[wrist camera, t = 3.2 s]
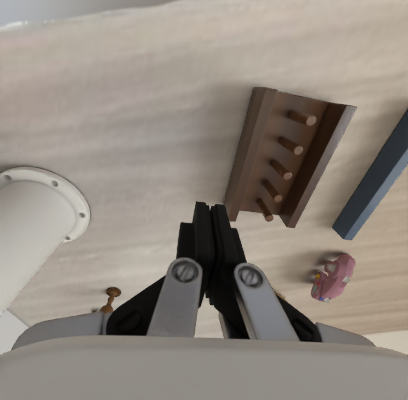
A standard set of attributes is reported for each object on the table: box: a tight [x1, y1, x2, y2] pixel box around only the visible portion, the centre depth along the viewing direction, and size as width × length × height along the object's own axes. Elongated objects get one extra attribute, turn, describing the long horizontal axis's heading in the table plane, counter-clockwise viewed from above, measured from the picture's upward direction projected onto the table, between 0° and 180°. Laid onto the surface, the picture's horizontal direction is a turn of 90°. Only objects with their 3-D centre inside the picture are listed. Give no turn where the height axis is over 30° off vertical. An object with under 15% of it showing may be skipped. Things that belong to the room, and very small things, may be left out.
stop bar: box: [332, 110, 408, 240], centre depth 28 cm, size 2×20×3 cm, turn 170°
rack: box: [223, 87, 357, 228], centre depth 24 cm, size 10×16×6 cm, turn 170°
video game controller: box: [311, 255, 356, 303], centre depth 37 cm, size 10×5×7 cm, turn 165°
